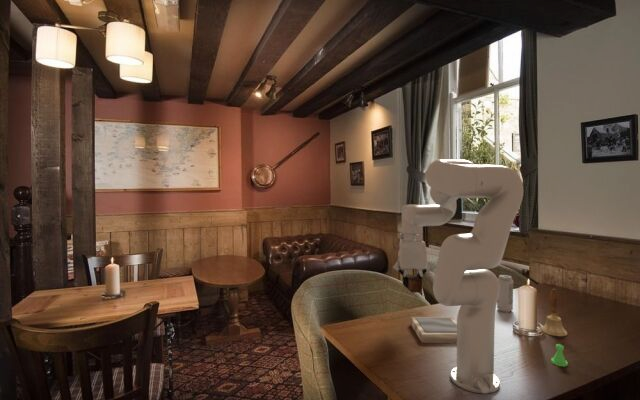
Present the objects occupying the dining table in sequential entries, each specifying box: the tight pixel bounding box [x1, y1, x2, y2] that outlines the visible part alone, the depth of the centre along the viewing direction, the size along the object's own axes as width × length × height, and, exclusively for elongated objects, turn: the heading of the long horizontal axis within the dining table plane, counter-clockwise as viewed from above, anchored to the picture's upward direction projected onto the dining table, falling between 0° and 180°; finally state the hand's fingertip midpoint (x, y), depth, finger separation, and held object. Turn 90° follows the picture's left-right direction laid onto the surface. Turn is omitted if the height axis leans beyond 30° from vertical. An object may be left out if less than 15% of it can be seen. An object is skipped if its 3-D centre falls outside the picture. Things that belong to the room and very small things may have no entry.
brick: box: [406, 274, 423, 294], centre depth 134 cm, size 11×4×5 cm, turn 3°
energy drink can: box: [496, 274, 514, 313], centre depth 154 cm, size 6×6×15 cm
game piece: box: [550, 343, 569, 368], centre depth 110 cm, size 4×4×6 cm
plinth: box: [410, 316, 457, 344], centre depth 132 cm, size 16×16×3 cm
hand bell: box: [540, 288, 568, 337], centre depth 132 cm, size 8×8×16 cm
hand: (412, 286), depth 134 cm, fingers closed on brick, 4 cm apart
